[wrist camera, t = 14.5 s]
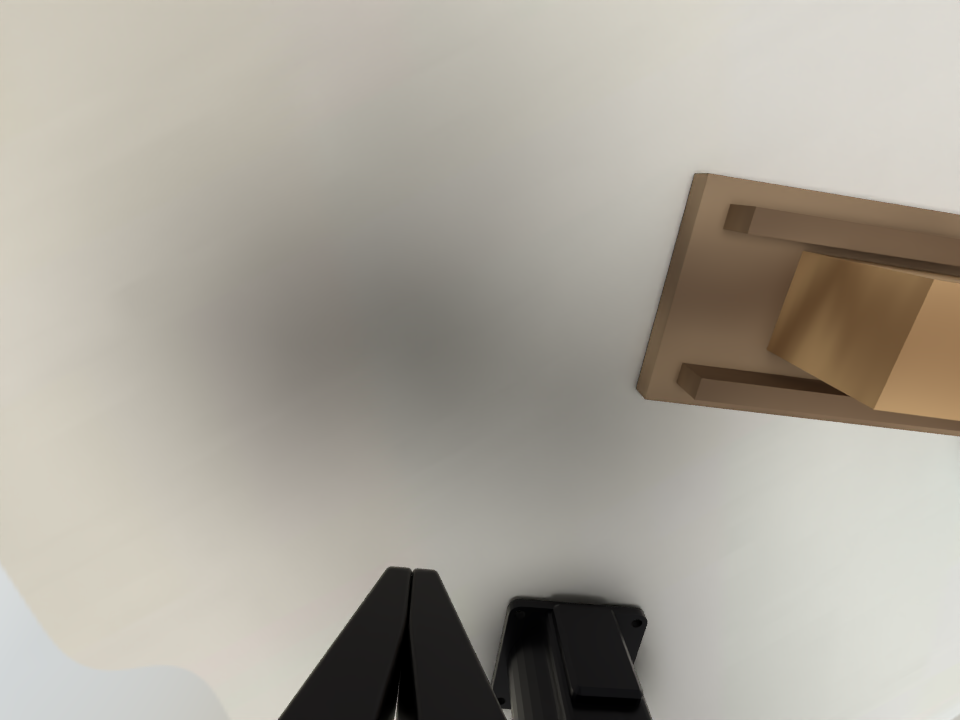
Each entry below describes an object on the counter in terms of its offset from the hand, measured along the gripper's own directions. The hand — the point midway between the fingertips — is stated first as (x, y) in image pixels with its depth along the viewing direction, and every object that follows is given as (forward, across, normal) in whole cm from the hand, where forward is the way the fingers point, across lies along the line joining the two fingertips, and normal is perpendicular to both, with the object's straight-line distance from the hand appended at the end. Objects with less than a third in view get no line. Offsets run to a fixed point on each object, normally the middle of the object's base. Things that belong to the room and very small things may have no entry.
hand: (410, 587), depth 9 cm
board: (+11, -18, -4) cm, 21 cm away
